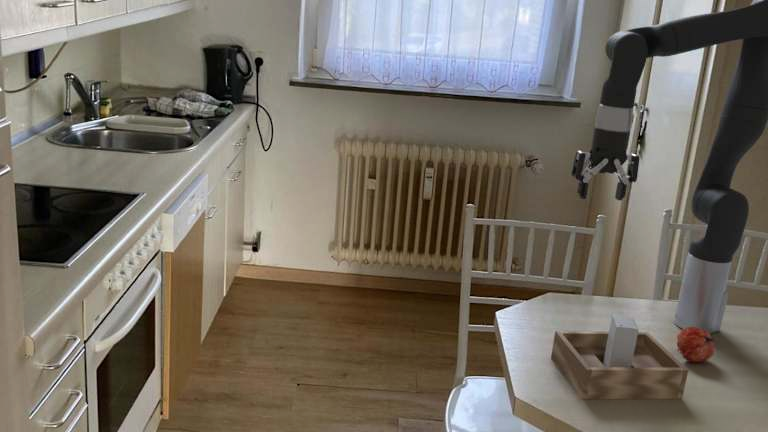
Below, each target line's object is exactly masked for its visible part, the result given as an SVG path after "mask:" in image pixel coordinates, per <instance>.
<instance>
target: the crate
mask: <svg viewBox="0 0 768 432" xmlns="http://www.w3.org/2000/svg"><path fill="white" fill-rule="evenodd" d="M608 335H609V331H591V330H590V331H587V330H586V331H584V330H583V331H579V330H575V331H574V330H573V331H572V330H566V331H565V330H556V331H554V338H553V343H552V351H551V355H550V359H551V361H552V362H553V364H555V365H556V367H557V369H559V371H560V372H561V374H562V375H563V376H564V377H565V379H566V380H567V381H568V383H569V384H570V386H571V387H572V389H574V392H576V393H577V395H578V396H579V398H580V399H581V400H683V396H684V392H685V387H686V384H687V379H688V375H689V369H687V367H686V366H685V365H683V364H682V362H680V361H679V360H678V359H677V358H676V357H675V356H674V355H673V354H672V353H671V352H670V351H669V350H668V349H666V348H665V347H664V346H663V345H662V344H661V343H660V342H659V341H658V340H657V339H656V338H655V337H654V336H653V335H652V334H650V333H649V331H638V336H637V341H636V346H635V351H634V356H633V361H632V365H631V367H605V366H604V365H603V361H604V356H605V351H606V345H607V340H608Z"/></svg>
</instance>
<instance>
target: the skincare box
mask: <svg viewBox="0 0 768 432" xmlns="http://www.w3.org/2000/svg"><path fill="white" fill-rule="evenodd" d="M634 318H635V317H631V316H625V315H619V314H612V315H611V319H610V320H611V321H610V324H609V331H608V332H609V335H608V340H607V345H606V351H605V356H604V361H603V365H604V366H605V367H631V365H632V361H633V356H634V351H635V346H636V341H637V336H638V332H640V331H639V327H638V325H637V323H636V321H635V319H634Z"/></svg>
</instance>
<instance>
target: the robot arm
mask: <svg viewBox="0 0 768 432" xmlns="http://www.w3.org/2000/svg"><path fill="white" fill-rule="evenodd" d="M737 40H741V45H740V50H739V54H738V57H737V58H738V59H737V62H736V65H735V67H734V71H733V75H732V77H731V82H730V85H729V88H728V91H727V94H726V97H725V100H724V102H723V107H722V110H721V113H720V117H719V121H718V125H717V129H716V132H715V135H714V139H713V141H712V145H711V147H710V151H709V155H708V157H707V160H706V163H705V165H704V168H703V170H702V173H701V175H700V178H699V180H698V183H697V184H696V187H695V190H694V193H693V195H692V198H691V212H692V214H693V216H694V217H695V218H696V219H697V220H699V221H700V222H702V223H704V224H706V225H707V228H706V230H705V233H704V237H698V238H694V239H692V240H691V241H690V244H689V248H688V253H687V257H686V262H685V267H684V272H683V276H682V281H681V286H680V290H679V295H678V299H677V300H678V301H677V304H676V310H675V314H674V318H673V322H674V324H675V325H676V326H677V327H679V328H680V329H682V330H683V329H685V328H687V327H693V326H695V327H698V328H700V329H702V330H705V331H707V332H708V333H709V334H710V335H711V334H714V333H716V332H721V327H722V324H723V319H724V315H725V310H726V305H727V302H728V297H729V292H728V291H726V288H727V283H728V279H729V276H730V275H729V274H730V270H731V266H732V263H733V258H734V255H735V254H736V252H737V251H738V249H739V248H740V245H741V241H742V237H743V235H744V232H745V228H746V225H747V222H748V217H749V210H750V206H749V201H748V198H747V197H746V196H745V195H744V194H743V193H742V192H740V191H738V190H735V189H733V188H731V183H732V179H733V176H734V174H735V171H736V168H737V166H738V164H739V163H740V161H741V159H742V158H743V157H744V156H745V155H746V154H747V152H749V151H750V149H751V148H752V147H753V146H754V145H755V144H756V143H757V142H758V140H759V139H760V138H761V137H762V135H763V133H764V132H765V129H766V126H767V124H768V0H752V2H750V4H749V5H747V6H743V7H738V8H734V9H731V10H724V11H717V12H711V13H709V12H708V13H703V14H696V15H690V16H686V17H682V18H677V19H673V20H669V21H665V22H662V23H658V24H654V25H649V26H642V27H634V28H630V29H629V28H628V29H624V30H619V31H617V32H615V33H614V34H613V35H611V36H609V38H608V40H607V41H606V43H605V55H606V57H607V59H608V60H610V61H611V66H610V70H609V74H608V77H607V78H606V79H604V81H603V84H602V88H601V92H600V93H601V94H600V100H599V106H598V109H597V112H596V116H595V122H594V129H593V135H592V140H591V149H590V151H589V152H585V151H582V150H577V151H575V157H574V160H573V166H572V170H571V177H572V178H574V179H576V180H578V185H577V186H578V187H577V195H578V196H579V198H580V199H581V200H586V199H587V194H588V189H589V187H588V186H589V183H588V182H589V181H590V180H591V179H592V177H594V176H596V175H597V174H598V173H599V174H606V173H608V174H614V175H616V178H617V179H618V182H617V184H616V189H615V196H614V197H615V199H616V200H617V201H622V200H623V199H624V198H625V197H626V193H627V189H628V184H630V183H635V182H637V181H638V173H639V166H640V155H637V154H636V153H633V152H630V154H627V150H628V148H629V142H630V136H631V130H632V127H633V120H634V119H633V118H634V107H635V102H636V97H637V96H636V95H637V88H638V86H639V85H638V84H639V82H640V80H641V77H642V75H643V71H644V69H645V67H646V63H647V59H648V58H654V57H665V58H666V57H671V56H676V55H679V54H684V53H687V52H693V51H697V50H700V49H705V48H708V47H712V46H715V45H716V46H717V45H720V44H725V43H729V42H735V41H737ZM588 160H589V161H590V162H589V164H587V165H586V167H585V168H584V165H585V163H586V162H587V161H588ZM626 162H627V174H626V172H625V170H624V168H623V165H624V164H625V163H626ZM583 169H584V170H583Z"/></svg>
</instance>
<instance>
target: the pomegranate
mask: <svg viewBox="0 0 768 432" xmlns="http://www.w3.org/2000/svg"><path fill="white" fill-rule="evenodd" d="M676 338H677V341H676V346H677V348H678V349H676V351H678V352H679V351H680V353H681V355H682V358H683V359H684V360H686V361H687V362H690V363H698V362H705V361H708V360H710V359H711V358H712V356H713V355H714V353H715V342H717V341H716V340H715V339H714V338H712V335H711V334H709V333H708V332H707V331H705V330H702V329H700V328H698V327H695V326H693V327H687V328H685V329H682V330H680V331H679V333H678V334H677V336H676Z"/></svg>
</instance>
